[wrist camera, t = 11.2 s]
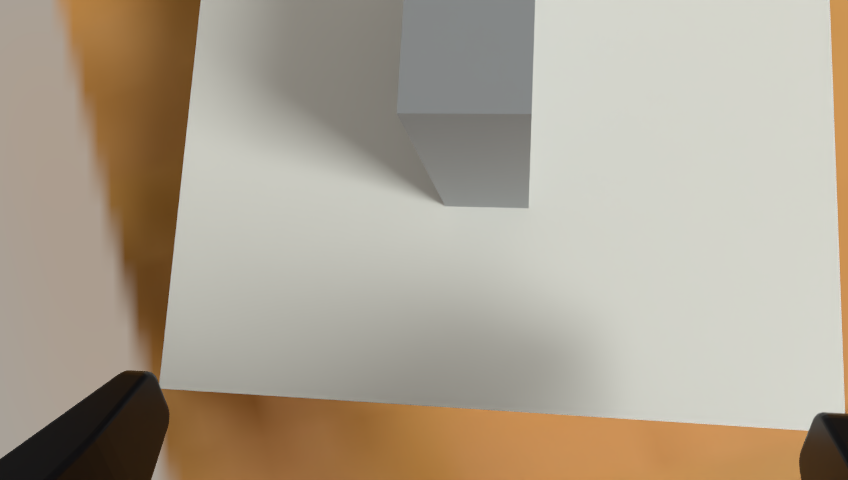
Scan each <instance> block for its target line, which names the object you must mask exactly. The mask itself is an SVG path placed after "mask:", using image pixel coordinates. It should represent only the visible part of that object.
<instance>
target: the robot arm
mask: <svg viewBox="0 0 848 480" xmlns="http://www.w3.org/2000/svg"><path fill="white" fill-rule="evenodd" d="M168 424H169V409H168V406H167V403H166V401H165V398H164V396H163V393H162V391H161V388H160V386H159V383H158V380H157V378H156V376H155V375H154V374H153V373H151V372H148V371H124V372H122V373H120V374H118V375H117V376H116V377H114V378H113V379H111V380H110V381H109V382H107V383H106V384H105V385H103V386H102V387H100V388H99V389H97V390H96V391H95V392H93V393H92V394H91V395H89V396H88V397H86V398H85V399H83V400H82V401H81V402H79V403H78V404H76V405H75V406H74V407H72V408H71V409H69V410H68V411H67V412H65V413H64V414H63V415H61V416H60V417H58V418H57V419H56V420H54V421H53V422H51V423H50V424H49V425H47V426H46V427H45V428H43V429H42V430H40V431H39V432H37V433H36V434H35V435H33V436H32V437H30V438H29V439H28V440H26V441H25V442H24V443H22V444H21V445H19V446H18V447H16V448H15V449H14V450H13V451H11V452H9V453H8V454H7V455H5V456H4V457H2V458H1V459H0V480H151V478H152V475H153V472H154V469H155V466H156V463H157V459H158V456H159V453H160V450H161V447H162V444H163V441H164V438H165V434H166V431H167V428H168ZM799 467H800V474H801V480H848V414H846V413H829V412H821V413H818V414H817V415H816V416H815V417H814V419H813V421H812V423H811V426H810V429H809V431H808V434H807V436H806V439H805V442H804V444H803V447H802V450H801V453H800V458H799Z"/></svg>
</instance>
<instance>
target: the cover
mask: <svg viewBox="0 0 848 480" xmlns="http://www.w3.org/2000/svg"><path fill="white" fill-rule="evenodd" d="M159 386H160V388H161V389H174V390H190V391H205V392H221V393H236V394H252V395H267V396H282V397H298V398H313V399H329V400H344V401H360V402H375V403H390V404H406V405H421V406H437V407H452V408H468V409H483V410H498V411H514V412H529V413H545V414H560V415H576V416H591V417H606V418H622V419H637V420H653V421H668V422H684V423H699V424H714V425H730V426H745V427H761V428H776V429H791V430H807V431H809V429H810V426H811V423H812V421H813V419H814V417H815V416H816V415H817V414H818V413H821V412H829V413H845V399H844V373H843V346H842V319H841V292H840V266H839V239H838V212H837V185H836V159H835V132H834V105H833V78H832V51H831V25H830V0H201V3H200V12H199V22H198V31H197V40H196V49H195V59H194V68H193V77H192V86H191V96H190V105H189V114H188V123H187V133H186V142H185V151H184V160H183V170H182V179H181V188H180V197H179V207H178V216H177V225H176V234H175V244H174V253H173V262H172V271H171V281H170V290H169V299H168V308H167V318H166V327H165V336H164V345H163V354H162V364H161V373H160V382H159Z"/></svg>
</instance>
